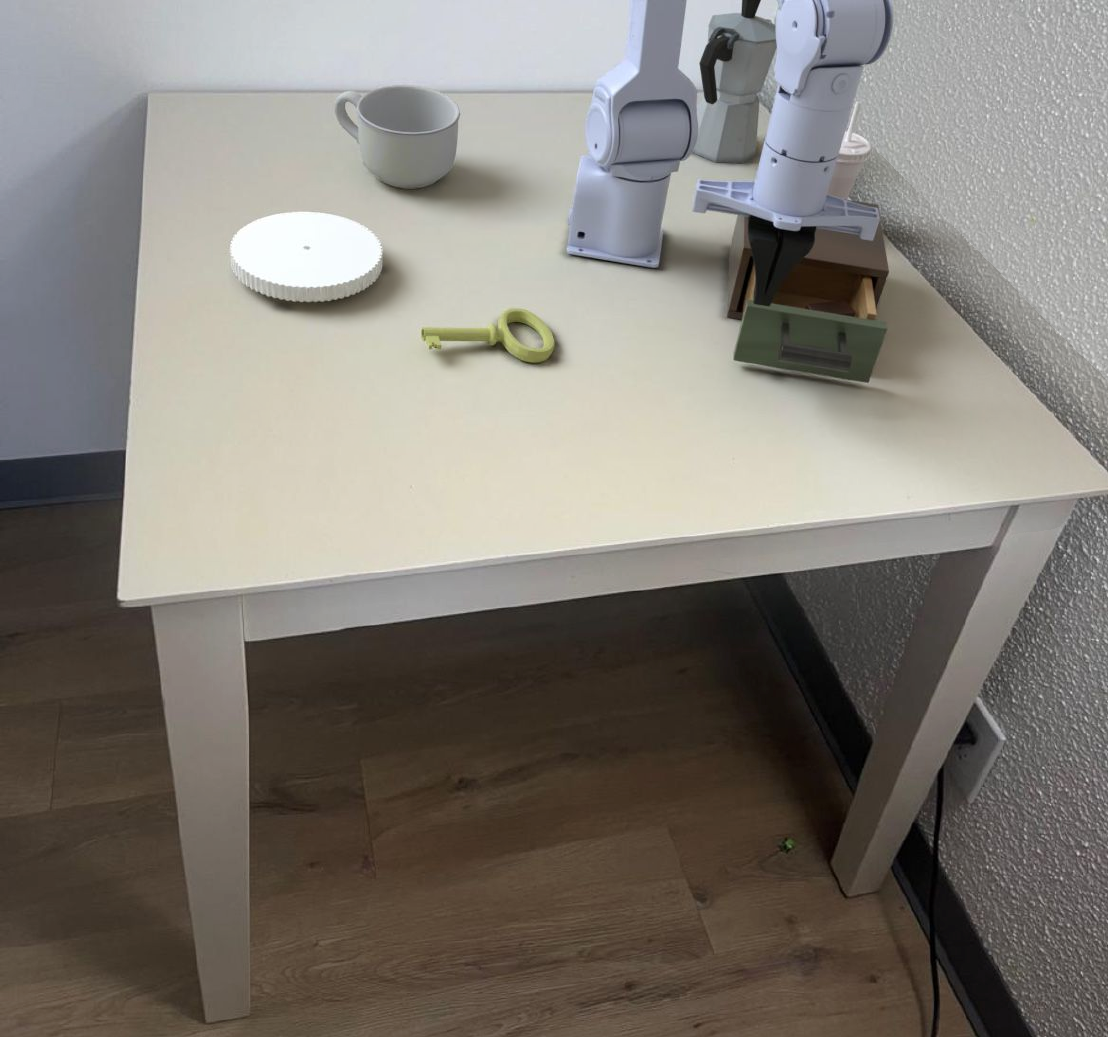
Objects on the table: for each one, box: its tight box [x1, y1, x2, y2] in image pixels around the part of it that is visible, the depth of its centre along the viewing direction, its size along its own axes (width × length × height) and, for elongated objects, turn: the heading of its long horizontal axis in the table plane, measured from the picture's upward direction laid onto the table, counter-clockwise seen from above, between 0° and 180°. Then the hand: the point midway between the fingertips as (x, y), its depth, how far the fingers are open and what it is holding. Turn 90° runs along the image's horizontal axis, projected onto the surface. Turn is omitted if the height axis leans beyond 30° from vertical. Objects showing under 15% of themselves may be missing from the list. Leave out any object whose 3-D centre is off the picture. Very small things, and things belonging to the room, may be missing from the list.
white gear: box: [229, 210, 383, 303], centre depth 110 cm, size 14×14×2 cm
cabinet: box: [726, 199, 890, 321], centre depth 116 cm, size 14×14×8 cm
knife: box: [805, 301, 856, 317], centre depth 108 cm, size 8×2×3 cm, turn 107°
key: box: [420, 307, 556, 364], centre depth 104 cm, size 7×12×2 cm, turn 126°
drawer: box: [732, 257, 888, 383], centre depth 107 cm, size 18×12×6 cm
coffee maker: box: [691, 0, 777, 164], centre depth 135 cm, size 15×9×18 cm, turn 144°
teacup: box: [333, 84, 461, 190], centre depth 126 cm, size 14×11×8 cm
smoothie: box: [827, 100, 872, 200], centre depth 125 cm, size 6×6×14 cm
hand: (761, 299), depth 98 cm, fingers closed
